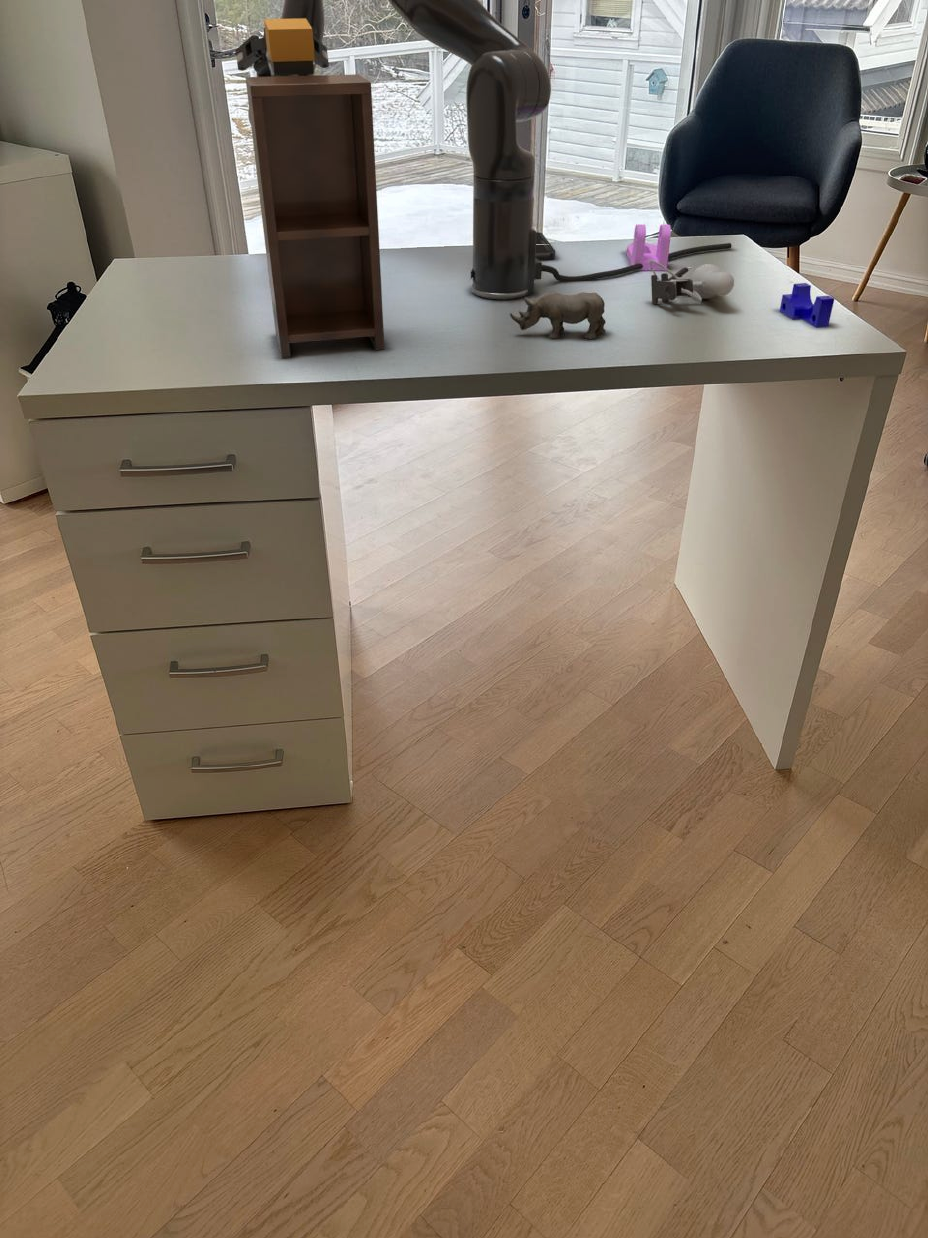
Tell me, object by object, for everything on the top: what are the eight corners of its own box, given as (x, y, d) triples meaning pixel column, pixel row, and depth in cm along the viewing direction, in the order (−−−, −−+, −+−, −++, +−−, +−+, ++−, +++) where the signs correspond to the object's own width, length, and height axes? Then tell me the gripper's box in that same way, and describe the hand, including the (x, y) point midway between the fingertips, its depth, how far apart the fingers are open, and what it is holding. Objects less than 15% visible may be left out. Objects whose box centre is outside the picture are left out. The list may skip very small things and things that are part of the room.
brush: (302, 48, 131) (298, 5, 127) (315, 74, 118) (312, 27, 115) (263, 49, 130) (258, 6, 126) (272, 75, 117) (268, 28, 114)
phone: (512, 253, 164) (501, 232, 176) (512, 260, 164) (500, 238, 177) (557, 252, 164) (542, 231, 177) (556, 259, 165) (541, 237, 177)
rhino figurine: (508, 329, 134) (509, 287, 131) (603, 330, 134) (607, 287, 131) (509, 339, 131) (510, 296, 128) (607, 339, 131) (611, 296, 127)
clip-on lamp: (633, 301, 155) (665, 310, 138) (632, 261, 152) (664, 265, 136) (702, 292, 155) (742, 300, 139) (702, 251, 153) (743, 254, 136)
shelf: (373, 328, 135) (359, 73, 116) (384, 349, 128) (371, 81, 109) (276, 336, 132) (245, 76, 113) (281, 358, 125) (250, 85, 106)
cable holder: (779, 311, 142) (784, 284, 139) (800, 309, 142) (805, 282, 140) (806, 327, 135) (812, 300, 133) (828, 326, 136) (834, 298, 134)
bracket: (666, 270, 160) (671, 227, 156) (633, 270, 160) (638, 227, 156) (655, 250, 170) (659, 209, 166) (624, 250, 170) (628, 209, 166)
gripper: (231, 53, 139) (226, -1, 122) (324, 51, 142) (332, -2, 125) (238, 108, 141) (235, 62, 124) (330, 104, 143) (339, 59, 126)
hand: (283, 30), depth 125 cm, fingers closed on brush, 2 cm apart
